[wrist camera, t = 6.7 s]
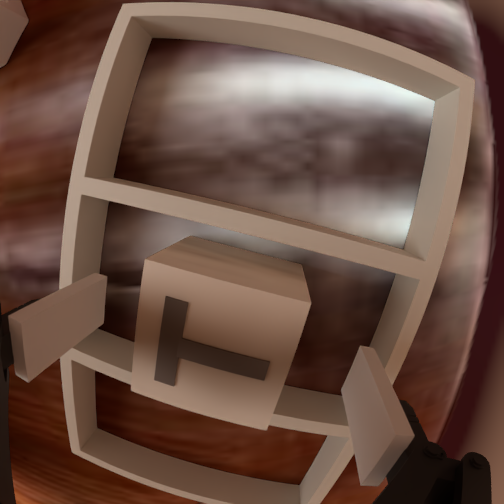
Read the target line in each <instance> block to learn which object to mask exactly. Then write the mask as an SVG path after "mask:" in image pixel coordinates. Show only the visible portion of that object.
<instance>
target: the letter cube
mask: <svg viewBox="0 0 504 504" xmlns="http://www.w3.org/2000/svg"><path fill="white" fill-rule="evenodd" d="M310 306H311V300H310V295H309V291H308V287H307V283H306V279H305V275H304V271H303V267H302V264H298V263H294V262H290V261H286V260H283V259H279V258H275V257H271V256H267V255H263V254H259V253H255V252H251V251H248V250H244V249H240V248H236V247H232V246H228V245H224V244H220V243H216V242H212V241H209V240H205V239H201V238H197V237H193V236H189V237H187V238H185V239H183V240H181V241H179V242H177V243H175V244H173V245H171V246H169V247H167V248H165V249H163V250H161V251H159V252H157V253H155V254H153V255H152V256H150V257H148V258H146V259H145V262H144V268H143V275H142V282H141V289H140V297H139V305H138V313H137V322H136V332H135V342H134V353H133V365H132V379H131V391H133V392H136V393H138V394H141V395H144V396H146V397H149V398H152V399H155V400H158V401H161V402H164V403H167V404H170V405H173V406H176V407H179V408H182V409H185V410H188V411H192V412H195V413H198V414H202V415H205V416H209V417H213V418H216V419H220V420H224V421H228V422H232V423H236V424H240V425H244V426H248V427H253V428H257V429H262V430H267V428H268V425H269V423H270V420H271V418H272V415H273V412H274V410H275V407H276V405H277V402H278V399H279V397H280V394H281V391H282V388H283V386H284V383H285V380H286V377H287V375H288V372H289V369H290V366H291V363H292V360H293V357H294V355H295V352H296V349H297V346H298V343H299V340H300V337H301V334H302V331H303V328H304V325H305V322H306V319H307V315H308V312H309V309H310Z"/></svg>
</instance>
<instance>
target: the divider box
mask: <svg viewBox="0 0 504 504" xmlns="http://www.w3.org/2000/svg"><path fill="white" fill-rule="evenodd" d="M152 38H170V39H187V40H199V41H210V42H219V43H227V44H235V45H242V46H248V47H254V48H260V49H266V50H271V51H277V52H282V53H287V54H291V55H296V56H300V57H305V58H309V59H313V60H317V61H321V62H325V63H328V64H332V65H336V66H339V67H343V68H346V69H349V70H353V71H356V72H359V73H362V74H365V75H369V76H372V77H375V78H377V79H380V80H383V81H386V82H389V83H392V84H394V85H397V86H400V87H402V88H405V89H407V90H410V91H412V92H415V93H417V94H420V95H422V96H424V97H427V98H429V99H431V100H434V101H435V105H434V112H433V119H432V126H431V132H430V138H429V143H428V149H427V154H426V160H425V165H424V169H423V174H422V179H421V183H420V188H419V192H418V196H417V201H416V205H415V209H414V213H413V217H412V220H411V224H410V228H409V232H408V235H407V239H406V242H405V246H404V249H399V248H396V247H393V246H389V245H386V244H382V243H379V242H375V241H372V240H368V239H365V238H361V237H358V236H354V235H351V234H347V233H343V232H340V231H336V230H332V229H329V228H325V227H321V226H318V225H314V224H310V223H306V222H303V221H299V220H295V219H291V218H287V217H283V216H279V215H275V214H271V213H268V212H264V211H260V210H255V209H251V208H247V207H243V206H239V205H235V204H231V203H227V202H222V201H218V200H214V199H210V198H205V197H201V196H197V195H192V194H188V193H183V192H179V191H174V190H170V189H165V188H161V187H156V186H151V185H147V184H142V183H137V182H132V181H127V180H123V179H118V178H113V177H114V172H115V168H116V163H117V158H118V154H119V149H120V145H121V140H122V136H123V132H124V128H125V124H126V120H127V117H128V113H129V109H130V105H131V102H132V98H133V95H134V92H135V88H136V85H137V82H138V78H139V75H140V72H141V69H142V66H143V63H144V60H145V57H146V54H147V51H148V48H149V45H150V43H151V40H152ZM474 88H475V80H474V79H472V78H470V77H468V76H467V75H465V74H463V73H461V72H459V71H457V70H455V69H453V68H451V67H449V66H447V65H445V64H442V63H440V62H438V61H436V60H434V59H432V58H429V57H427V56H425V55H422V54H420V53H418V52H415V51H413V50H410V49H408V48H405V47H403V46H400V45H398V44H395V43H392V42H390V41H387V40H384V39H381V38H378V37H375V36H372V35H369V34H366V33H363V32H360V31H357V30H353V29H350V28H347V27H343V26H339V25H336V24H332V23H328V22H324V21H320V20H316V19H311V18H307V17H302V16H298V15H293V14H287V13H282V12H276V11H270V10H264V9H257V8H250V7H241V6H232V5H221V4H208V3H185V2H152V3H129V4H123V5H122V8H121V10H120V12H119V14H118V17H117V19H116V22H115V24H114V26H113V29H112V31H111V34H110V37H109V39H108V42H107V44H106V47H105V50H104V53H103V55H102V58H101V61H100V64H99V67H98V70H97V73H96V76H95V79H94V83H93V86H92V89H91V93H90V96H89V100H88V103H87V107H86V110H85V114H84V118H83V122H82V126H81V130H80V134H79V139H78V143H77V148H76V153H75V158H74V163H73V168H72V173H71V179H70V185H69V191H68V198H67V205H66V212H65V220H64V229H63V239H62V250H61V264H60V284H59V290H60V289H62V288H64V287H66V286H68V285H70V284H73V283H75V282H77V281H79V280H81V279H83V278H85V277H87V276H89V275H91V274H93V273H98V274H99V273H100V263H101V254H102V246H103V238H104V231H105V224H106V217H107V211H108V205H109V201H112V202H117V203H121V204H125V205H129V206H134V207H138V208H142V209H146V210H150V211H154V212H159V213H163V214H167V215H171V216H175V217H179V218H183V219H187V220H192V221H196V222H200V223H204V224H208V225H212V226H216V227H220V228H224V229H228V230H232V231H236V232H240V233H244V234H248V235H252V236H256V237H260V238H264V239H268V240H271V241H275V242H279V243H283V244H287V245H291V246H295V247H299V248H303V249H306V250H310V251H314V252H318V253H322V254H326V255H329V256H333V257H337V258H341V259H345V260H348V261H352V262H356V263H360V264H363V265H367V266H371V267H375V268H378V269H382V270H386V271H390V272H393V273H396V275H395V278H394V281H393V284H392V287H391V290H390V293H389V296H388V299H387V301H386V304H385V307H384V310H383V313H382V315H381V318H380V321H379V323H378V326H377V328H376V331H375V334H374V336H373V339H372V341H371V344H370V346H369V347H371V348H374V349H375V351H376V353H377V355H378V357H379V359H380V362H381V364H382V366H383V368H384V370H385V372H386V374H387V376H388V378H389V380H390V382H391V385H393V383H394V381H395V379H396V377H397V375H398V373H399V371H400V369H401V366H402V364H403V362H404V360H405V358H406V356H407V353H408V351H409V349H410V346H411V344H412V342H413V339H414V337H415V335H416V332H417V330H418V327H419V325H420V322H421V320H422V317H423V315H424V312H425V309H426V307H427V304H428V301H429V299H430V296H431V293H432V290H433V287H434V284H435V281H436V278H437V275H438V272H439V269H440V266H441V263H442V260H443V256H444V253H445V250H446V246H447V243H448V239H449V235H450V232H451V228H452V224H453V220H454V216H455V212H456V208H457V203H458V199H459V194H460V190H461V185H462V180H463V174H464V169H465V163H466V157H467V151H468V145H469V138H470V130H471V122H472V112H473V101H474ZM133 353H134V342H132V341H130V340H127V339H124V338H121V337H119V336H116V335H113V334H111V333H108V332H105V331H103V330H100V329H98V328H97V329H96V330H94V331H93V332H92V333H91V334H89V335H88V336H87V337H85V338H84V339H83V340H82V341H80V342H79V343H78V344H76V345H75V346H74V347H73V348H71V349H70V350H69V351H67V352H66V353H65V354H64V355H62V356H61V357H60V364H61V377H62V388H63V398H64V406H65V414H66V421H67V428H68V434H69V440H70V446H71V451H72V453H74V454H76V455H78V456H80V457H82V458H84V459H86V460H88V461H90V462H92V463H94V464H97V465H99V466H101V467H103V468H105V469H108V470H110V471H112V472H115V473H117V474H119V475H122V476H124V477H127V478H129V479H132V480H134V481H137V482H140V483H142V484H145V485H148V486H150V487H153V488H156V489H159V490H162V491H165V492H168V493H171V494H175V495H178V496H181V497H184V498H188V499H191V500H195V501H199V502H203V503H206V504H320V503H321V501H322V500H323V499H324V497H325V496H326V495H327V493H328V492H329V491H330V489H331V488H332V486H333V485H334V483H335V482H336V481H337V479H338V478H339V476H340V475H341V473H342V472H343V470H344V469H345V467H346V466H347V464H348V463H349V461H350V459H351V458H352V456H353V455H354V449H353V444H352V439H351V434H350V429H349V424H348V419H347V415H346V410H345V406H344V401H343V397H342V396H340V395H334V394H328V393H323V392H317V391H312V390H307V389H302V388H297V387H292V386H287V385H284V386H283V388H282V391H281V394H280V397H279V399H278V402H277V405H276V407H275V410H274V412H273V415H272V418H271V420H270V423H269V425H271V426H276V427H281V428H286V429H292V430H298V431H303V432H310V433H316V434H323V435H328V436H327V438H326V440H325V442H324V444H323V445H322V447H321V449H320V451H319V453H318V454H317V456H316V458H315V460H314V462H313V463H312V465H311V467H310V468H309V470H308V472H307V474H306V475H305V477H304V479H303V480H302V482H301V484H300V485H294V484H286V483H280V482H274V481H268V480H262V479H257V478H252V477H247V476H242V475H237V474H233V473H228V472H224V471H220V470H216V469H212V468H208V467H205V466H201V465H197V464H194V463H191V462H187V461H184V460H181V459H177V458H174V457H171V456H168V455H165V454H162V453H159V452H156V451H153V450H151V449H148V448H145V447H142V446H140V445H137V444H135V443H132V442H129V441H127V440H124V439H122V438H120V437H117V436H115V435H112V434H110V433H108V432H105V431H103V430H101V429H99V428H97V418H96V397H95V370H96V371H98V372H100V373H103V374H105V375H108V376H110V377H112V378H115V379H117V380H120V381H123V382H125V383H128V384H130V385H131V379H132V365H133Z"/></svg>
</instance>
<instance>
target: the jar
mask: <svg viewBox="0 0 504 504" xmlns="http://www.w3.org/2000/svg"><path fill="white" fill-rule="evenodd" d="M28 22H29V20H28V17H27V15H26V13H25V10H24V7H23V5H22V2H21V0H0V68H1V67H3V66H4V65H6V64H7V62H8V60H9V58H10V56H11V54H12V51H13V50H14V48H15V46H16V44H17V42H18V40H19V38H20V36H21V34H22V32H23V31H24V29H25V27H26V25H27V24H28Z"/></svg>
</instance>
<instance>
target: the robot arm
mask: <svg viewBox="0 0 504 504" xmlns="http://www.w3.org/2000/svg"><path fill="white" fill-rule="evenodd" d="M106 286H107V276H104V275H101V274H98V273H93V274H91V275H89V276H87V277H85V278H83V279H81V280H79V281H77V282H75V283H73V284H70V285H68V286H66V287H64V288H62V289H60V290H58V291H56V292H54V293H52V294H50V295H48V296H46V297H44V298H42V299H36V300H31V301H29V302H27V303H25V304H24V305H21V306H19V307H18V308H15V309H13V310H11V311H9V312H7V313H5V314H3V315H1V305H0V504H16V501H15V494H14V487H13V480H12V471H11V461H10V448H9V427H8V393H9V369H8V367H9V366H10V365H12V364H13V363H14V368H15V374H16V375H17V376H18V377H20V378H22V379H23V380H25V381H26V382H28V383H29V382H30V381H31V380H32V379H34V378H35V377H36V376H37V375H39V374H40V373H41V372H42V371H44V370H45V369H46V368H47V367H49V366H50V365H51V364H52V363H54V362H55V361H56V360H57V359H59V358H60V357H61V356H62V355H64V354H65V353H66V352H67V351H69V350H70V349H71V348H73V347H74V346H75V345H76V344H78V343H79V342H80V341H82V340H83V339H84V338H85V337H87V336H88V335H89V334H91V333H92V332H93V331H94V330H96V329H97V328H98V327H100V326H101V325H102V324H104V311H105V297H106ZM341 392H342V397H343V401H344V406H345V410H346V415H347V419H348V424H349V429H350V434H351V439H352V444H353V449H354V454H355V459H356V464H357V469H358V475H359V480H360V485H362V486H379V485H380V484H381V482H382V481H383V480H384V479H385V477H387V481H388V485H387V486H386V487H385V489H384V490H383V491H382V492H381V493H380V495H379V496H378V497H377V498H376V499H375V501H374V502H373V503H372V504H491V502H492V500H491V472H490V465H489V462H488V461H487V459H486V458H485V457H484V456H483V455H481V454H478V453H475V452H470V453H467V454H466V455H465V456H464V457H463V458H462V459H461V461H459V460H455V459H450V458H447V456H446V453H445V451H444V450H443V448H442V447H440V446H439V445H438V444H436V443H433V442H429V441H428V439H427V437H426V435H425V433H424V431H423V429H422V426H421V424H420V423H419V420H418V418H417V417H416V414H415V412H414V410H413V408H412V407H411V406H410V405H409V404H408V403H407V402H406V401H403V400H398V397H397V395H396V393H395V391H394V389H393V387H392V385H391V382H390V380H389V378H388V376H387V374H386V372H385V370H384V368H383V366H382V364H381V362H380V359H379V357H378V355H377V353H376V351H375V349H374V348H371V347H366V346H361V345H360V347H359V349H358V352H357V354H356V357H355V359H354V362H353V364H352V366H351V369H350V371H349V373H348V376H347V378H346V380H345V382H344V385H343V387H342V389H341Z"/></svg>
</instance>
